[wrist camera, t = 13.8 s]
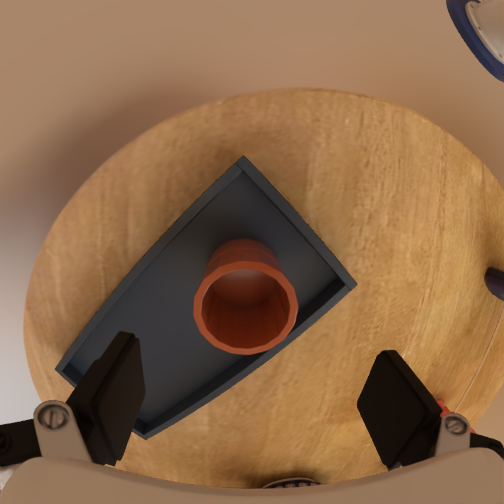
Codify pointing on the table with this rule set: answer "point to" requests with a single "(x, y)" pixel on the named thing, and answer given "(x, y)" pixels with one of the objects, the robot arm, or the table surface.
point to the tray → (184, 288)
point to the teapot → (291, 483)
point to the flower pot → (244, 298)
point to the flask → (495, 282)
